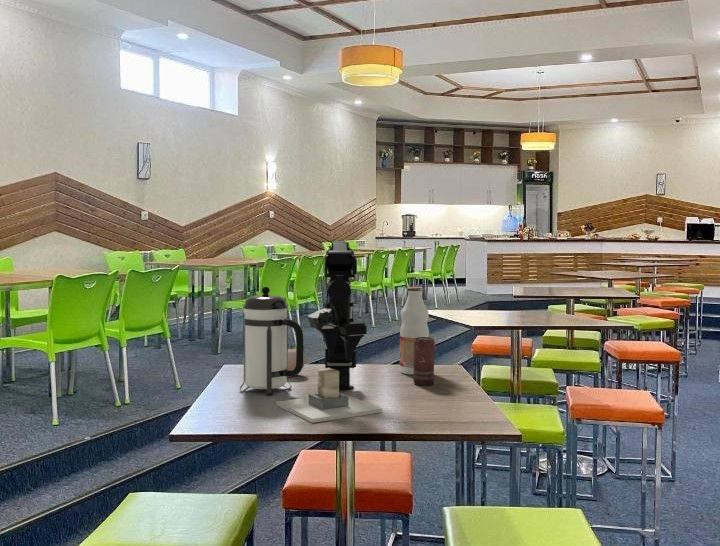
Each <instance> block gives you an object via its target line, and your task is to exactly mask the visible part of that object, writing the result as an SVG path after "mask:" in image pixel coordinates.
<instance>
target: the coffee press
mask: <svg viewBox="0 0 720 546" xmlns="http://www.w3.org/2000/svg"><path fill="white" fill-rule="evenodd" d="M270 291H271V290H270V288H269V287H268V286H263V287H262V289H261V293H262V294H260V295H253V296H252V295H251V296H249V297H248V298H247V299H245V301H244V304H243V305H242V309H243V314H244V317H243V382H242V384H241V385H240V386H239V391H240V393H244V392H246V391H247V390H248V389H255V390H265V391H266V396H268V397H269V396H273V390H274V389H275V390H276V389H279V388H281V387H285V389H287V390H291V389H292V385H291V383H290V382H289V379H288V377H289V378H291V377H294V376H295V377H296V376H297V375H299V374H300V373H301V372H302V370H303V368H304V367H303V353H304V351H303V349H304V334H303V329H302V326H301V325H300V324H299V322H297V321H295V320H293V319H288V316H287V315H288V314H287V313H288V308H289V304H288V303H287V301H286V299H285V298H283V297H282V296H280V295H272V294H270ZM288 327H291V328H292V329H293V330H294V332H295V337H296V338H295V339H296V341H295V343H296V344H295V345H296V346H295V347H296V367H295V369H294V370H288V348H289V346H288V345H289V344H288V343H289V342H288V341H289V340H288V336H289V335H288ZM302 367H303V368H302ZM287 383H288V384H289V387H287V386H285V385H286V384H287ZM244 385H245V386H246V388H245V389H242V388H243V386H244ZM241 389H242V390H241Z"/></svg>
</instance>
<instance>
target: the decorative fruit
mask: <svg viewBox="0 0 720 546" xmlns="http://www.w3.org/2000/svg"><path fill="white" fill-rule="evenodd" d="M305 352H306V350H305V349H304V348H303V367H302V369H304V366H305V364H306V360H307V359H306V354H305ZM295 367H296V346H295V347H293V344H290V347H288V370H294V369H295Z"/></svg>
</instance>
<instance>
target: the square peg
mask: <svg viewBox="0 0 720 546" xmlns="http://www.w3.org/2000/svg"><path fill="white" fill-rule="evenodd" d="M317 393H318V397H321V398H323V399H327V398H334V397H339V393H340V390H339V371H338V370H335V369H332V368H331V369H330V368H323V369H318V370H317Z"/></svg>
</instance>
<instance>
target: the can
mask: <svg viewBox="0 0 720 546" xmlns="http://www.w3.org/2000/svg"><path fill="white" fill-rule="evenodd" d="M435 341H436V340H435V339H434V338H433V337H430V336H429V337H417V338H415V340H414V375H413V380H412V381H413V384H414V385H415V386H419V387H420V386H421V387H427V386H428V387H429V386H432V385H433V384H434V381H435V380H434V379H435V349H436V342H435Z"/></svg>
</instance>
